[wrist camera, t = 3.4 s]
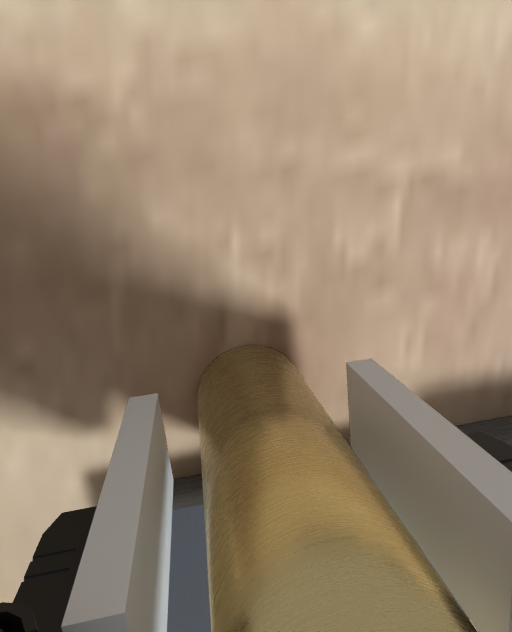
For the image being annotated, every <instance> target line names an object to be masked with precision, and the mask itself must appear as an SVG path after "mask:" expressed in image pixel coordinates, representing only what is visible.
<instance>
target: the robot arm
mask: <svg viewBox="0 0 512 632" xmlns="http://www.w3.org/2000/svg"><path fill="white" fill-rule="evenodd" d="M346 369H347V387H348V405H349V423H350V441H351V448H352V450H353V451H354V452H355V454H356V455H357V457H358V458H359V460H360V461H361V463H362V464H363V465H364V467H365V468H366V470H367V471H368V473H369V474H370V476H371V477H372V478H373V480H374V481H375V483H376V484H377V486H378V487H379V489H380V490H381V492H382V493H383V494H384V496H385V497H386V499H387V500H388V502H389V503H390V505H391V506H392V507H393V509H394V510H395V512H396V513H397V515H398V516H399V518H400V519H401V520H402V522H403V523H404V525H405V526H406V528H407V529H408V531H409V532H410V533H411V535H412V536H413V538H414V539H415V541H416V542H417V544H418V545H419V547H420V548H421V549H422V551H423V552H424V554H425V555H426V557H427V558H428V560H429V561H430V562H431V564H432V565H433V567H434V568H435V570H436V571H437V573H438V574H439V575H440V577H441V578H442V580H443V581H444V583H445V584H446V586H447V587H448V588H449V590H450V591H451V593H452V594H453V596H454V597H455V599H456V600H457V602H458V603H459V604H460V606H461V607H462V609H463V610H464V612H465V613H466V615H467V616H468V617H469V619H470V620H471V622H472V623H473V625H474V626H475V628H476V629H477V630H478V632H512V447H511V446H509V445H508V444H506V443H505V442H503V441H501V440H499V439H496V438H494V437H491V436H489V435H487V434H484V433H482V432H480V431H479V432H474V433H469V434H464V433H463V432H462V431H460V430H459V429H458V428H457V427H455V426H454V425H453V424H452V423H450V422H449V421H448V420H447V419H446V418H444V417H443V416H442V415H441V414H439V413H438V412H437V411H436V410H434V409H433V408H432V407H431V406H429V405H428V404H427V403H426V402H425V401H423V400H422V399H421V398H420V397H418V396H417V395H416V394H415V393H413V392H412V391H411V390H410V389H408V388H407V387H406V386H405V385H404V384H402V383H401V382H400V381H399V380H397V379H396V378H395V377H394V376H392V375H391V374H390V373H389V372H387V371H386V370H385V369H384V368H383V367H381V366H380V365H379V364H378V363H376V362H375V361H374V360H373V359H365V360H359V361H353V362H347V363H346ZM173 481H174V480H173V475H172V469H171V464H170V458H169V453H168V447H167V441H166V436H165V430H164V425H163V419H162V414H161V408H160V402H159V397H158V393H155V394H149V395H143V396H137V397H131V398H129V400H128V403H127V407H126V410H125V413H124V417H123V420H122V423H121V427H120V430H119V434H118V437H117V440H116V444H115V447H114V450H113V454H112V457H111V460H110V464H109V467H108V471H107V474H106V477H105V481H104V484H103V487H102V491H101V494H100V497H99V501H98V504H97V506H95V507H90V508H85V509H80V510H75V511H69V512H64V513H62V514H61V515H60V516H59V517H58V518H57V519H56V520H55V521H54V522H53V523H52V525H51V526H50V527H49V528H48V529H47V530H46V531H45V532H44V533H43V535H42V537H41V539H40V542H39V544H38V546H37V548H36V551H35V553H34V555H33V561H32V562H30V564H29V567H28V569H27V571H26V574H25V576H24V582H22V583H21V585H20V587H19V590H18V592H17V594H16V596H15V599H14V601H13V603H4V602H3V603H0V632H167V616H168V594H169V571H170V549H171V526H172V504H173Z"/></svg>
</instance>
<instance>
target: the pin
mask: <svg viewBox="0 0 512 632" xmlns="http://www.w3.org/2000/svg"><path fill="white" fill-rule="evenodd" d="M197 402H198V418H199V435H200V452H201V468H202V485H203V501H204V518H205V534H206V551H207V567H208V584H209V601H210V617H211V632H477V631H476V629H475V628H474V626H473V625H472V623H471V622H470V620H469V619H468V618H467V616H466V615H465V613H464V612H463V610H462V609H461V607H460V606H459V604H458V603H457V602H456V600H455V599H454V597H453V596H452V594H451V593H450V591H449V590H448V588H447V587H446V586H445V584H444V583H443V581H442V580H441V578H440V577H439V575H438V574H437V572H436V571H435V570H434V568H433V567H432V565H431V564H430V562H429V561H428V559H427V558H426V556H425V555H424V554H423V552H422V551H421V549H420V548H419V546H418V545H417V543H416V542H415V540H414V539H413V538H412V536H411V535H410V533H409V532H408V530H407V529H406V527H405V526H404V524H403V523H402V522H401V520H400V519H399V517H398V516H397V514H396V513H395V511H394V510H393V509H392V507H391V506H390V504H389V503H388V501H387V500H386V498H385V497H384V495H383V494H382V493H381V491H380V490H379V488H378V487H377V485H376V484H375V482H374V481H373V479H372V478H371V477H370V475H369V474H368V472H367V471H366V469H365V468H364V466H363V465H362V463H361V462H360V461H359V459H358V458H357V456H356V455H355V453H354V452H353V450H352V449H351V447H350V446H349V445H348V443H347V442H346V440H345V439H344V437H343V436H342V434H341V433H340V431H339V430H338V429H337V427H336V426H335V424H334V423H333V421H332V420H331V418H330V417H329V415H328V414H327V413H326V411H325V410H324V408H323V407H322V405H321V404H320V402H319V401H318V399H317V398H316V397H315V395H314V394H313V392H312V391H311V389H310V388H309V386H308V385H307V383H306V382H305V381H304V379H303V378H302V376H301V375H300V373H299V372H298V370H297V369H296V367H295V366H294V365H293V363H292V362H291V361H290V360H289V359H288V358H287V357H286V356H285V355H283V354H282V353H280V352H279V351H277V350H275V349H272V348H269V347H266V346H260V345H246V346H240V347H237V348H234V349H231V350H229V351H227V352H225V353H223V354H222V355H220V356H219V357H217V358H216V359H215V360H214V361H213V362H212V363H211V364H210V365H209V366H208V368H207V369H206V371H205V372H204V374H203V376H202V378H201V380H200V383H199V387H198V394H197Z"/></svg>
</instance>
